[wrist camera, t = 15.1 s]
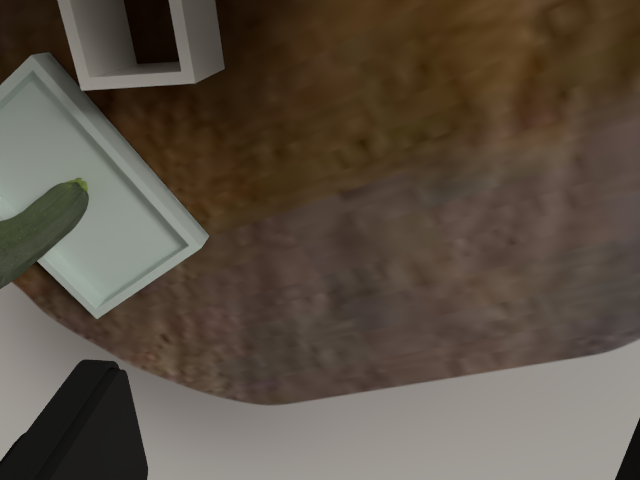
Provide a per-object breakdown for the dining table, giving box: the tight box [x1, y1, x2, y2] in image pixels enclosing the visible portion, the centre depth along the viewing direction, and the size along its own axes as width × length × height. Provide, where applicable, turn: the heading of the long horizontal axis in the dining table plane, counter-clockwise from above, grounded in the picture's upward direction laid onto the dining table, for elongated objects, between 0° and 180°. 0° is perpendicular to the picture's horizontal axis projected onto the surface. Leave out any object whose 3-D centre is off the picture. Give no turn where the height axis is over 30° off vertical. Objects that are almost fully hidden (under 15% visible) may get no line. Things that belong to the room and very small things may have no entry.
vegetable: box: [0, 178, 89, 289], centre depth 37 cm, size 4×4×20 cm
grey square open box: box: [57, 0, 225, 91], centre depth 36 cm, size 8×8×8 cm
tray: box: [0, 52, 209, 319], centre depth 45 cm, size 20×14×2 cm
